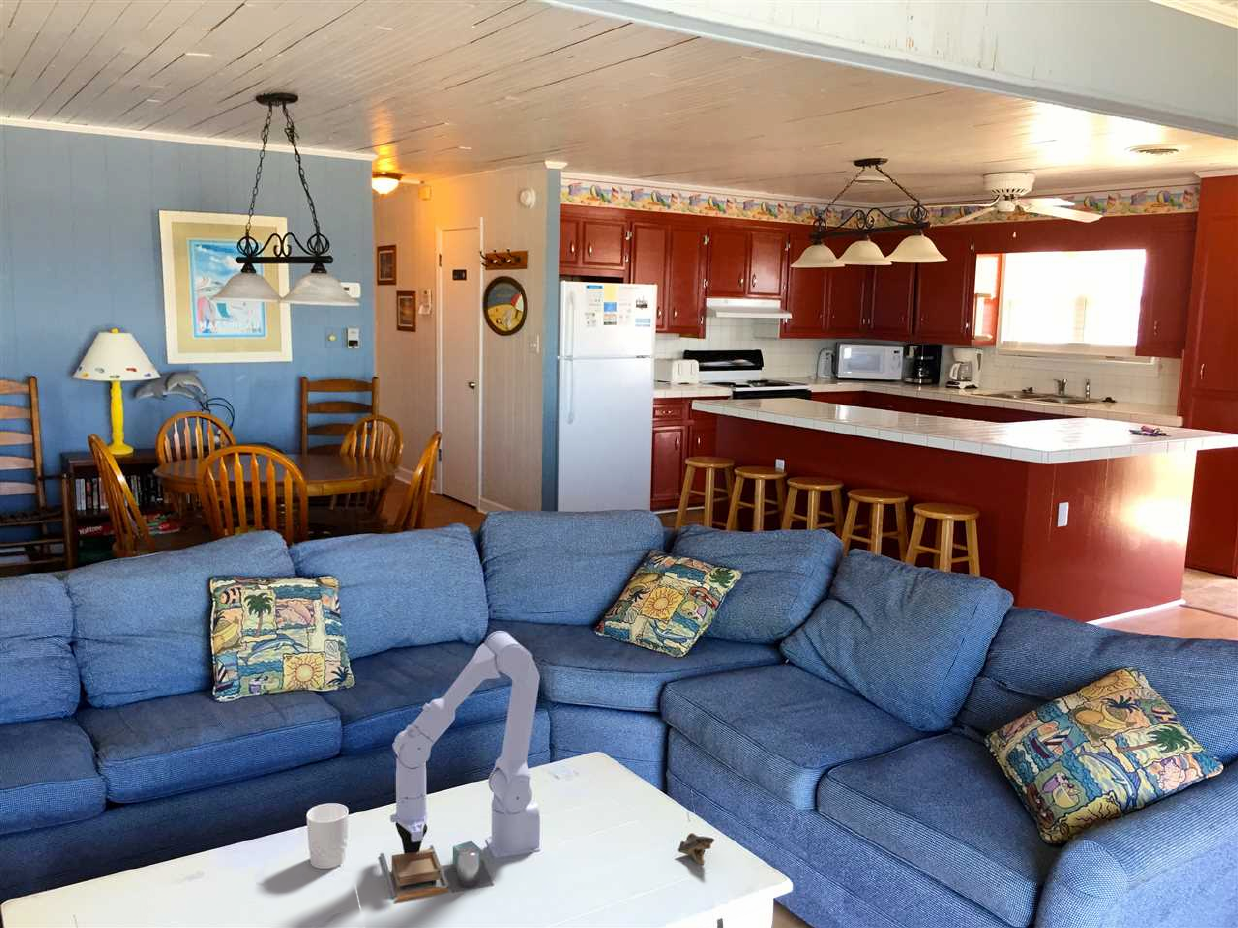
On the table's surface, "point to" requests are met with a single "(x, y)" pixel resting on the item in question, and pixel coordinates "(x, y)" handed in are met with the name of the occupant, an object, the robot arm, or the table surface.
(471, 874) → the part
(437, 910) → the table surface
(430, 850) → the brown wooden tray
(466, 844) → the part
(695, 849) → the shark head
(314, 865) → the white cup
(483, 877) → the mat
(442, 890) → the track
